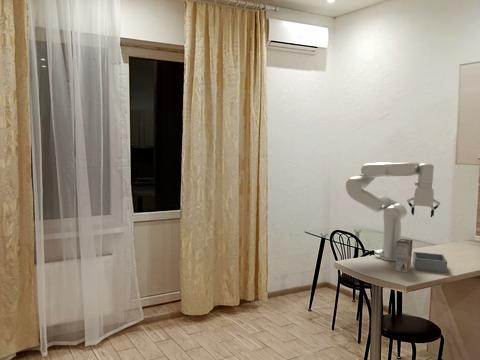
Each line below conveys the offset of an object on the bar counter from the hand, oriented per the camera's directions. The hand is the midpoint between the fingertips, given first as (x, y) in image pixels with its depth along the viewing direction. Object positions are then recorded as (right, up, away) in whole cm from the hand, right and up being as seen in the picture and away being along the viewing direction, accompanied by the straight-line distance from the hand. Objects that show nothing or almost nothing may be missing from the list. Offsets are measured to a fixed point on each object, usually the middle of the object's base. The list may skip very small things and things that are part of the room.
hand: (422, 215), depth 248 cm
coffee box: (-15, -28, -10) cm, 34 cm away
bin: (+2, -28, -3) cm, 28 cm away
